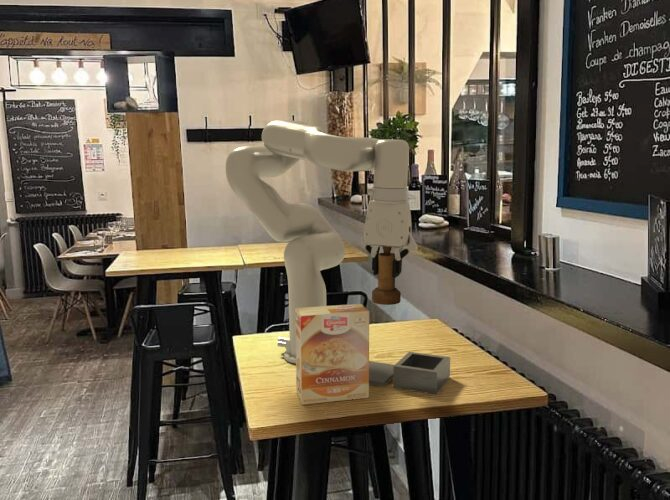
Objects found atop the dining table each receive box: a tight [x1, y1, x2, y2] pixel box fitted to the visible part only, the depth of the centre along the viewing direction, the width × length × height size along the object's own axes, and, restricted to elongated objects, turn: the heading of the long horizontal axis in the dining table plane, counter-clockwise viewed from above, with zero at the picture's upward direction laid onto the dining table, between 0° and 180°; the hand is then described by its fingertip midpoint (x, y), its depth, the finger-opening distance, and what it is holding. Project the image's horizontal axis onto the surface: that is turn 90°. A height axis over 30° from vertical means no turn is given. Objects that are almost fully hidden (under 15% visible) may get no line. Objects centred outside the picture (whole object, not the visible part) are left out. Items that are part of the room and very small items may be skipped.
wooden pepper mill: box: [371, 246, 402, 306], centre depth 143 cm, size 7×6×18 cm
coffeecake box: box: [295, 303, 370, 406], centre depth 135 cm, size 15×7×20 cm, turn 103°
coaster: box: [369, 360, 395, 387], centre depth 148 cm, size 10×12×1 cm
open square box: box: [392, 351, 451, 395], centre depth 143 cm, size 10×11×5 cm
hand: (386, 274), depth 143 cm, fingers closed on wooden pepper mill, 3 cm apart
